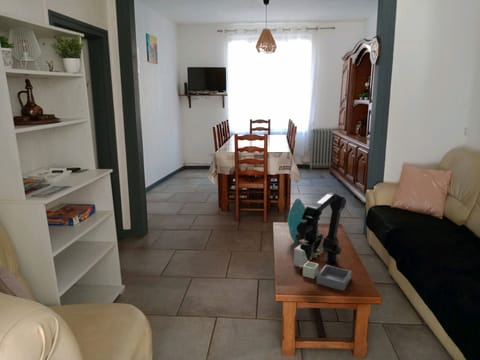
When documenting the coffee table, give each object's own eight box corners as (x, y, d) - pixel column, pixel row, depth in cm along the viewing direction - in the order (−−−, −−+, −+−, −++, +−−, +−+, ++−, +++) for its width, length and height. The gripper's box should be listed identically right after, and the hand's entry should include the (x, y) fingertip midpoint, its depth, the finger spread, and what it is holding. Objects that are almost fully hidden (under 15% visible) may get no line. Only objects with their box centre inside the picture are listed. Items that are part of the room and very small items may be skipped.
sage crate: (307, 270, 199) (307, 261, 198) (318, 273, 196) (318, 263, 194) (302, 275, 194) (303, 265, 192) (314, 279, 191) (314, 268, 189)
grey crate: (325, 271, 197) (325, 264, 196) (350, 278, 190) (351, 270, 189) (316, 283, 186) (316, 275, 185) (343, 290, 179) (343, 282, 178)
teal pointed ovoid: (309, 245, 231) (311, 201, 224) (288, 245, 231) (289, 201, 224) (306, 237, 243) (308, 195, 235) (286, 238, 243) (287, 195, 236)
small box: (300, 260, 212) (301, 243, 209) (309, 262, 208) (309, 246, 205) (293, 265, 206) (294, 248, 203) (302, 268, 202) (302, 251, 200)
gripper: (304, 220, 200) (303, 246, 204) (291, 232, 185) (290, 259, 188) (323, 224, 194) (322, 250, 198) (311, 236, 179) (310, 264, 183)
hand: (311, 256), depth 192 cm, fingers open, 9 cm apart
